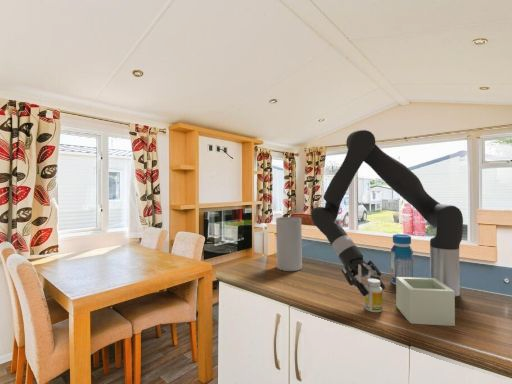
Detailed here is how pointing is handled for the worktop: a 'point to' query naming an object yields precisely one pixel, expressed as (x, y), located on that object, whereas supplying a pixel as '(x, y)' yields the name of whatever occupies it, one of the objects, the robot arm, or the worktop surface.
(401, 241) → the beverage bottle
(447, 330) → the worktop surface
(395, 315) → the worktop surface
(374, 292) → the supplement bottle
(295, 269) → the cylinder vase
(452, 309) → the open box
